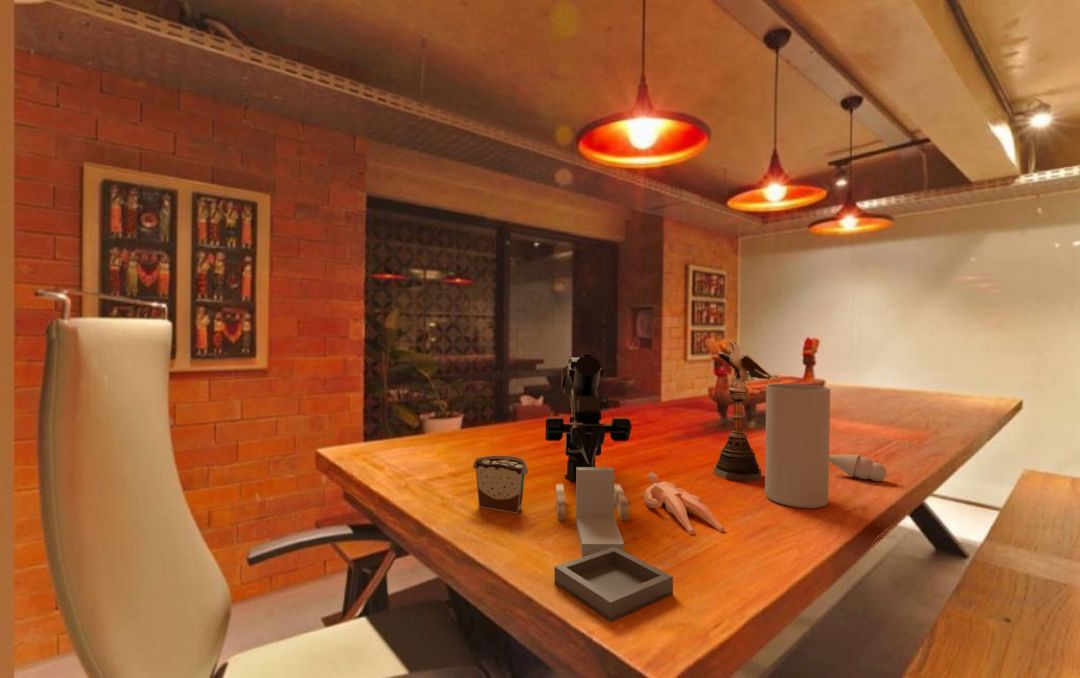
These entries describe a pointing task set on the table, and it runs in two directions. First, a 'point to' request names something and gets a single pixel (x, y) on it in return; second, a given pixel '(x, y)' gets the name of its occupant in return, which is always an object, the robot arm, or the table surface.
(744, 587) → the table surface
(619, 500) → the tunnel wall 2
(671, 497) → the male figurine
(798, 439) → the cylinder vase
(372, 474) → the table surface
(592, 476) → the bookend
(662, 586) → the tray
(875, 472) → the ice cream cone
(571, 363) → the robot arm
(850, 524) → the table surface
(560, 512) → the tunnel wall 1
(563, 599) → the table surface
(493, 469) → the food container
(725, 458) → the bird statue
